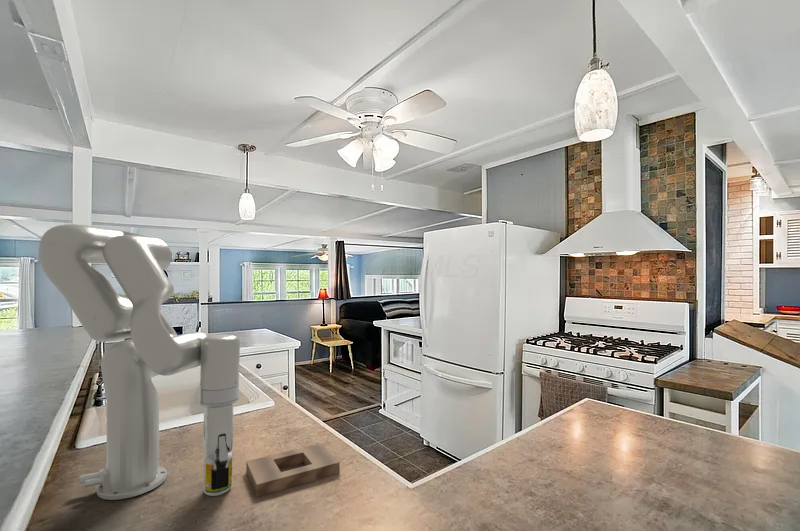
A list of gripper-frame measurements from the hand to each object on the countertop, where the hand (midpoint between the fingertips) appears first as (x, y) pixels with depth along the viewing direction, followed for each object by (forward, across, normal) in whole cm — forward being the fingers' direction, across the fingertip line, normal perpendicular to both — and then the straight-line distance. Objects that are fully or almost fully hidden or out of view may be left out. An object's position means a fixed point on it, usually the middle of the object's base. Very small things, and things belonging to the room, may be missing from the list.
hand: (218, 480), depth 83 cm
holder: (+2, +1, +16) cm, 16 cm away
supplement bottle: (+2, 0, 0) cm, 2 cm away
